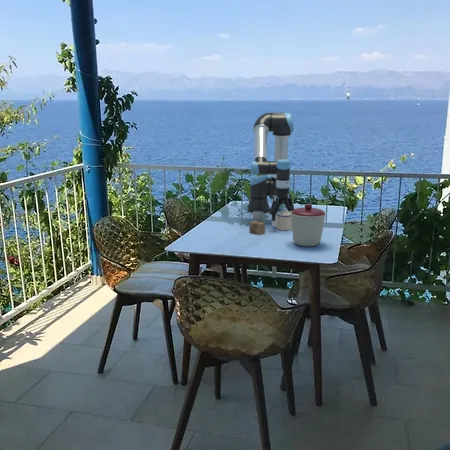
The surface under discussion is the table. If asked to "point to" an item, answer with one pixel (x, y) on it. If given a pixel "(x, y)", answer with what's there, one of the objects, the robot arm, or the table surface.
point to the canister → (307, 225)
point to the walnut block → (257, 227)
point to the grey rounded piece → (258, 216)
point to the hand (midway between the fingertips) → (281, 224)
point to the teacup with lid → (284, 220)
